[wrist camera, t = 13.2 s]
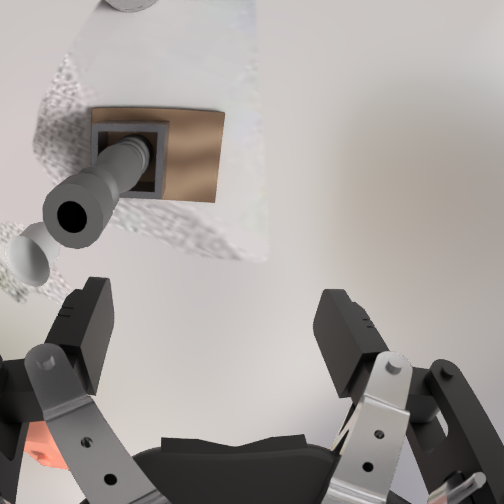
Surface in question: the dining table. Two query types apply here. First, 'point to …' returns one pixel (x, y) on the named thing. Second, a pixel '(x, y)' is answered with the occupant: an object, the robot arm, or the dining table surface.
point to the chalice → (32, 254)
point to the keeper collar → (162, 127)
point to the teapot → (43, 446)
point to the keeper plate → (178, 148)
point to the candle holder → (95, 192)
